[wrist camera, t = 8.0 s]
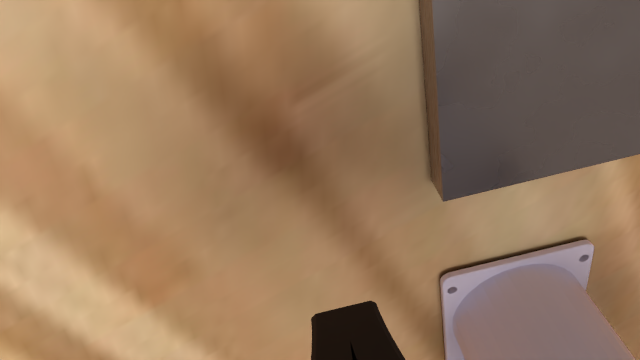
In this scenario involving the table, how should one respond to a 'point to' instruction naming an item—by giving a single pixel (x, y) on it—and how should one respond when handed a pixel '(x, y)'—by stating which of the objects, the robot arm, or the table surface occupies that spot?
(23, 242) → the table surface
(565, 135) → the plate
